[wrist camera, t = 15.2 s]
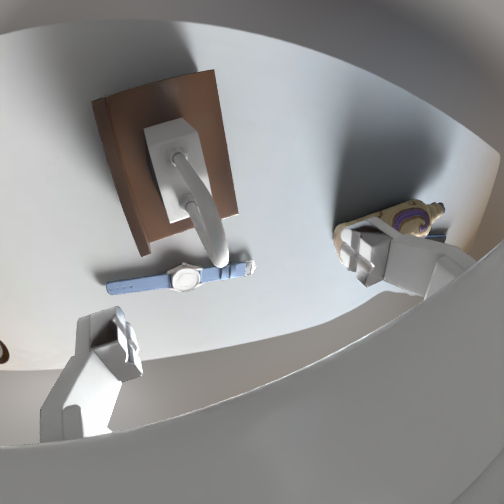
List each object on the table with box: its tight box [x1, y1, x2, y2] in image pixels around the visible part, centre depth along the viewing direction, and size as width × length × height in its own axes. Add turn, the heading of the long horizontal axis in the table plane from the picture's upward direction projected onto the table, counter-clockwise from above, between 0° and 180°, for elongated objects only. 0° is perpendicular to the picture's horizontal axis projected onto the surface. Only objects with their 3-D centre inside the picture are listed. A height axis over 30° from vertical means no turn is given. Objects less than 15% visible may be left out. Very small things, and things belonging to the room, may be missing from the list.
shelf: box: [91, 69, 239, 257], centre depth 25 cm, size 10×14×8 cm
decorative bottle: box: [333, 199, 445, 263], centre depth 44 cm, size 26×8×7 cm, turn 97°
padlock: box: [144, 118, 229, 268], centre depth 17 cm, size 7×4×15 cm, turn 9°
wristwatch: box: [106, 260, 256, 295], centre depth 36 cm, size 4×20×1 cm, turn 85°
